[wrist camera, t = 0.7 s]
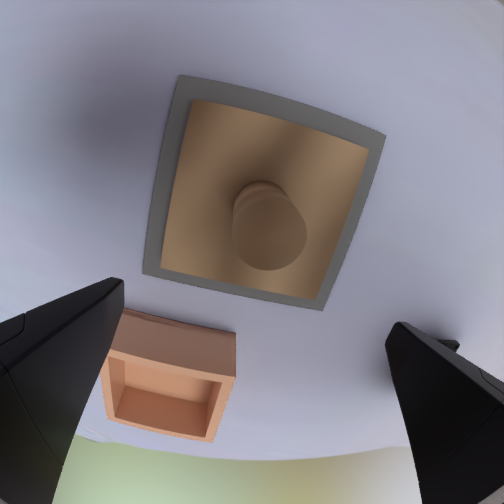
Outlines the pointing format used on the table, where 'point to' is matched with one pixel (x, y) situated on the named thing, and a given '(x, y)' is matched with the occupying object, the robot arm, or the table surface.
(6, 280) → the table surface
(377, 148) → the mat
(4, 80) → the table surface
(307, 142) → the lid
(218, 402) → the dish
